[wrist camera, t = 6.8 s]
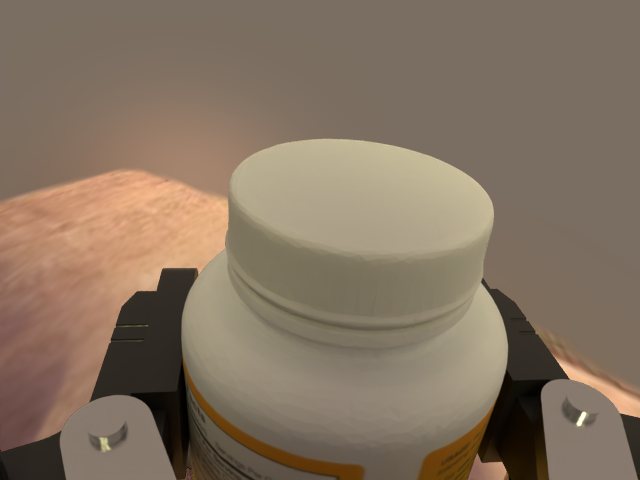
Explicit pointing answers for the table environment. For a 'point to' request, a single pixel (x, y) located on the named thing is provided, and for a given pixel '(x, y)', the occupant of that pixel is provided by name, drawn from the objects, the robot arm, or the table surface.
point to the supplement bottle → (344, 320)
